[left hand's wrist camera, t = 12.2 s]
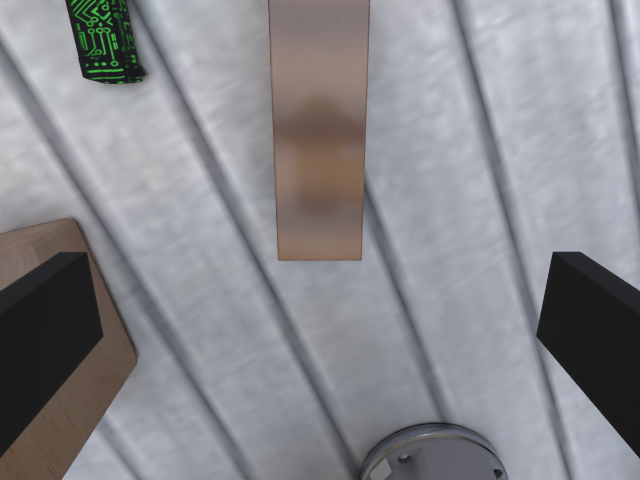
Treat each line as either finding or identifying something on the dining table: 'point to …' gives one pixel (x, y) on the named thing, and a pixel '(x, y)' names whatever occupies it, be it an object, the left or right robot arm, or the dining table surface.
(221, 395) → the dining table surface
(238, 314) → the dining table surface
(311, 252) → the bar
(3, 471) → the decorative block
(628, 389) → the left robot arm
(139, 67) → the handgun
